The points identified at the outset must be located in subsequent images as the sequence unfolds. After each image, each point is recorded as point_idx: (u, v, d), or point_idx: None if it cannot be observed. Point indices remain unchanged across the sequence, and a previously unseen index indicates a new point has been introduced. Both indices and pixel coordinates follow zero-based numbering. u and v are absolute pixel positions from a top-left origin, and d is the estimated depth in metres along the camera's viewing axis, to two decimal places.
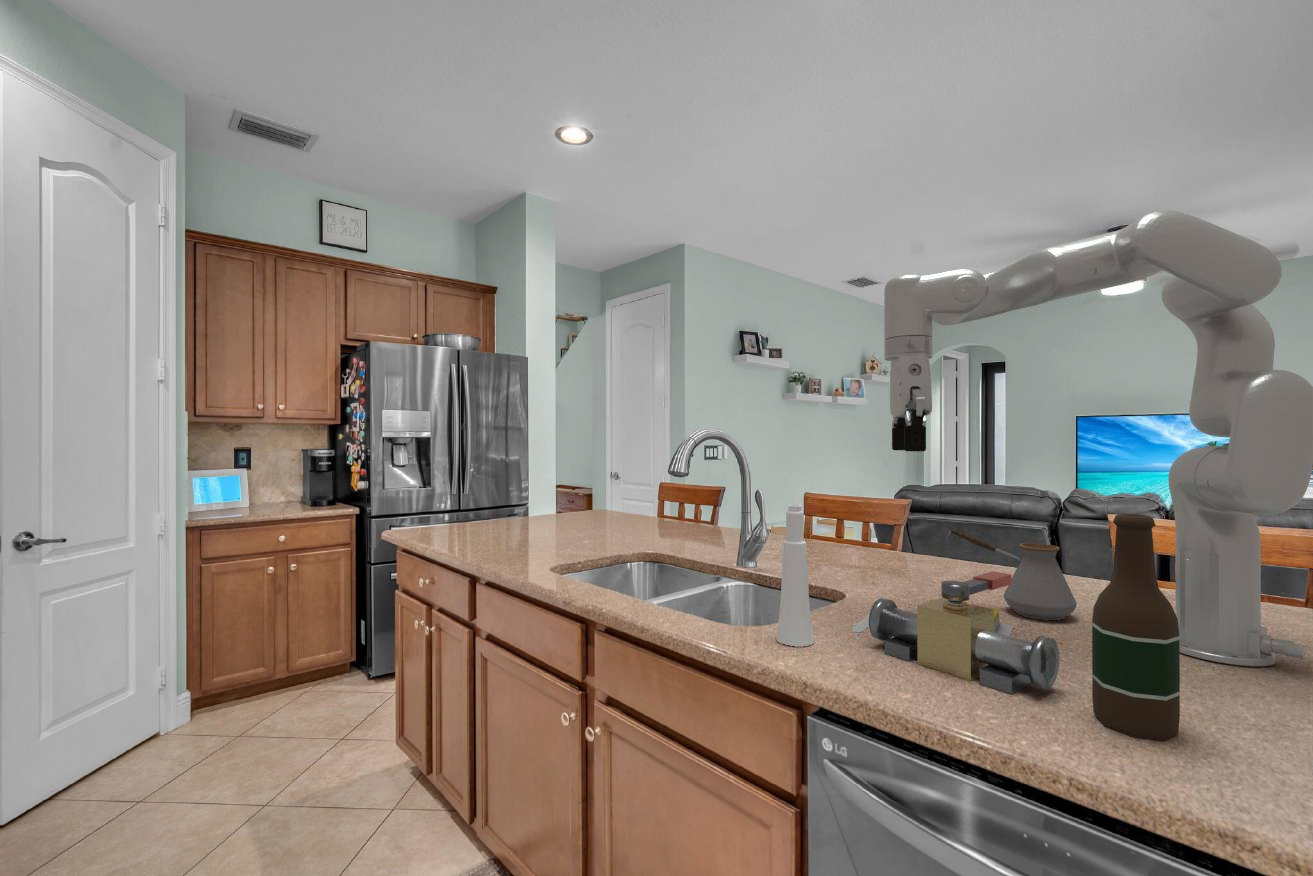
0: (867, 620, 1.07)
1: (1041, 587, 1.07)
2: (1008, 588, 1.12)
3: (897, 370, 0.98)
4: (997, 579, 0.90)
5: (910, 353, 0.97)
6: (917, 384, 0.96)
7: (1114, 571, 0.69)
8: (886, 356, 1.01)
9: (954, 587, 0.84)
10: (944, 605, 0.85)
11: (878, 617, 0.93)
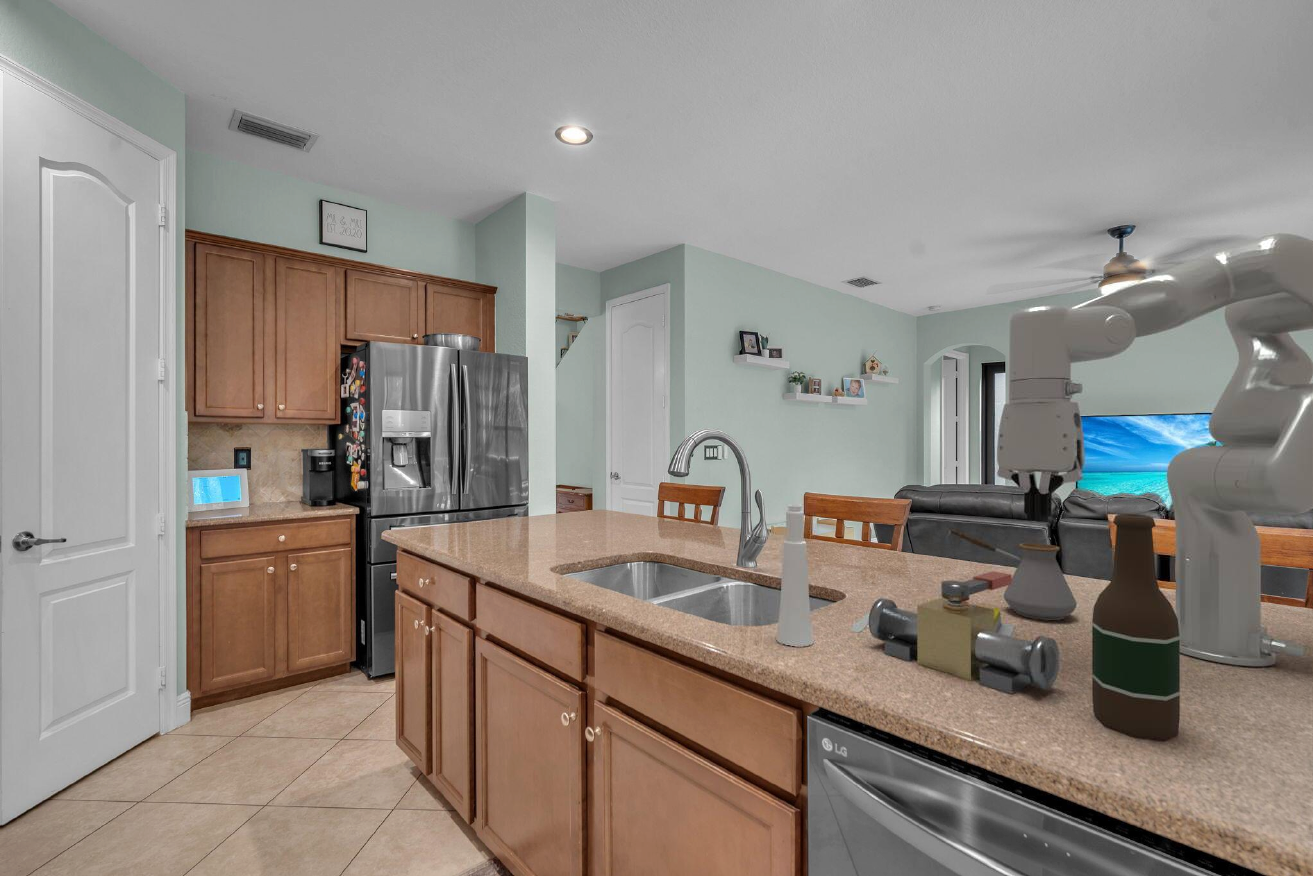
0: (865, 620, 1.07)
1: (1041, 587, 1.07)
2: (1008, 588, 1.12)
3: (1056, 418, 0.82)
4: (997, 579, 0.90)
5: (1067, 400, 0.83)
6: (1079, 437, 0.82)
7: (1114, 571, 0.69)
8: (1034, 399, 0.83)
9: (954, 587, 0.84)
10: (944, 605, 0.85)
11: (878, 617, 0.93)
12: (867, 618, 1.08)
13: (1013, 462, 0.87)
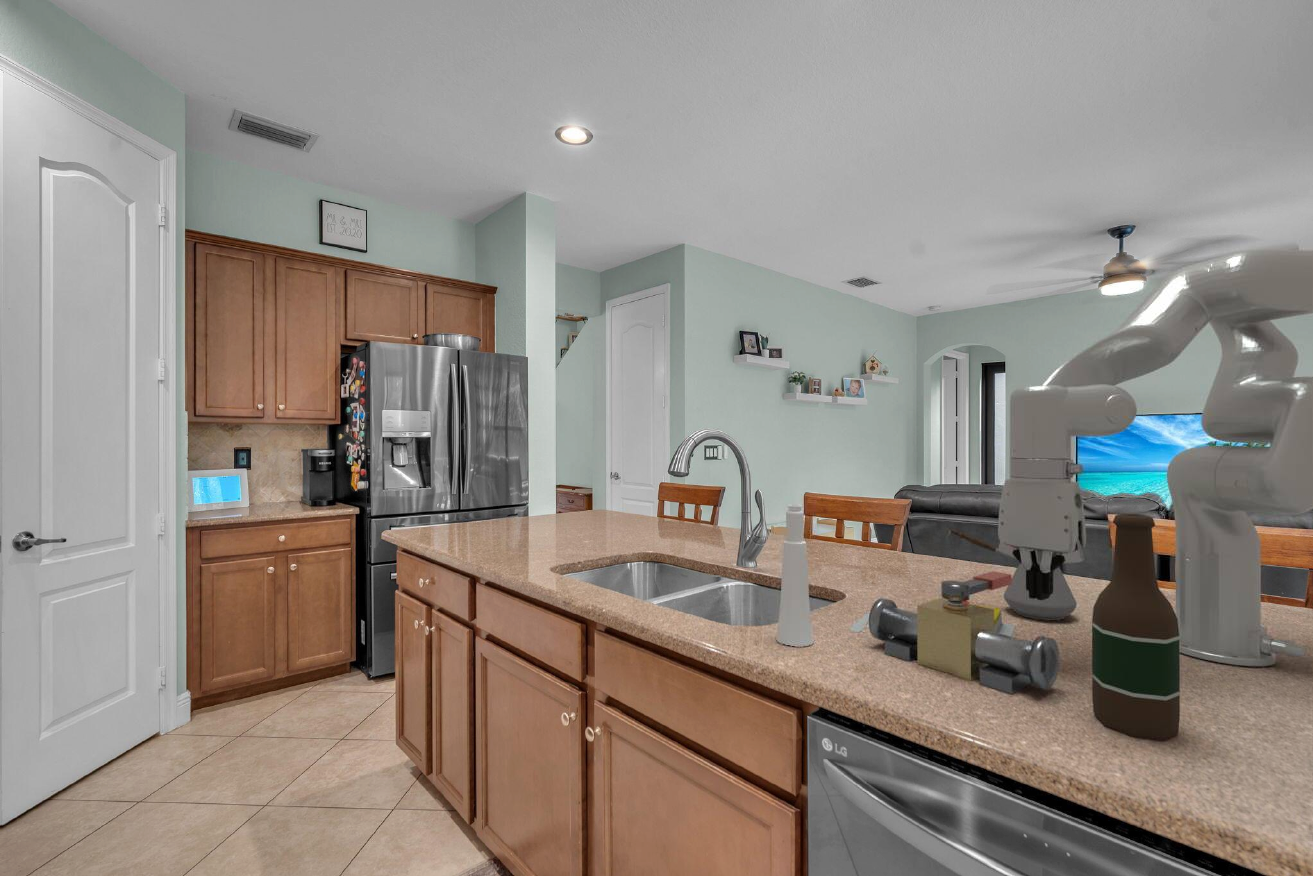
0: (865, 620, 1.07)
1: None
2: (1008, 588, 1.12)
3: (1057, 499, 0.82)
4: (997, 579, 0.90)
5: (1068, 480, 0.83)
6: (1081, 518, 0.82)
7: (1114, 571, 0.69)
8: (1035, 480, 0.83)
9: (954, 587, 0.84)
10: (944, 605, 0.85)
11: (878, 617, 0.93)
12: (866, 618, 1.08)
13: (1014, 539, 0.87)
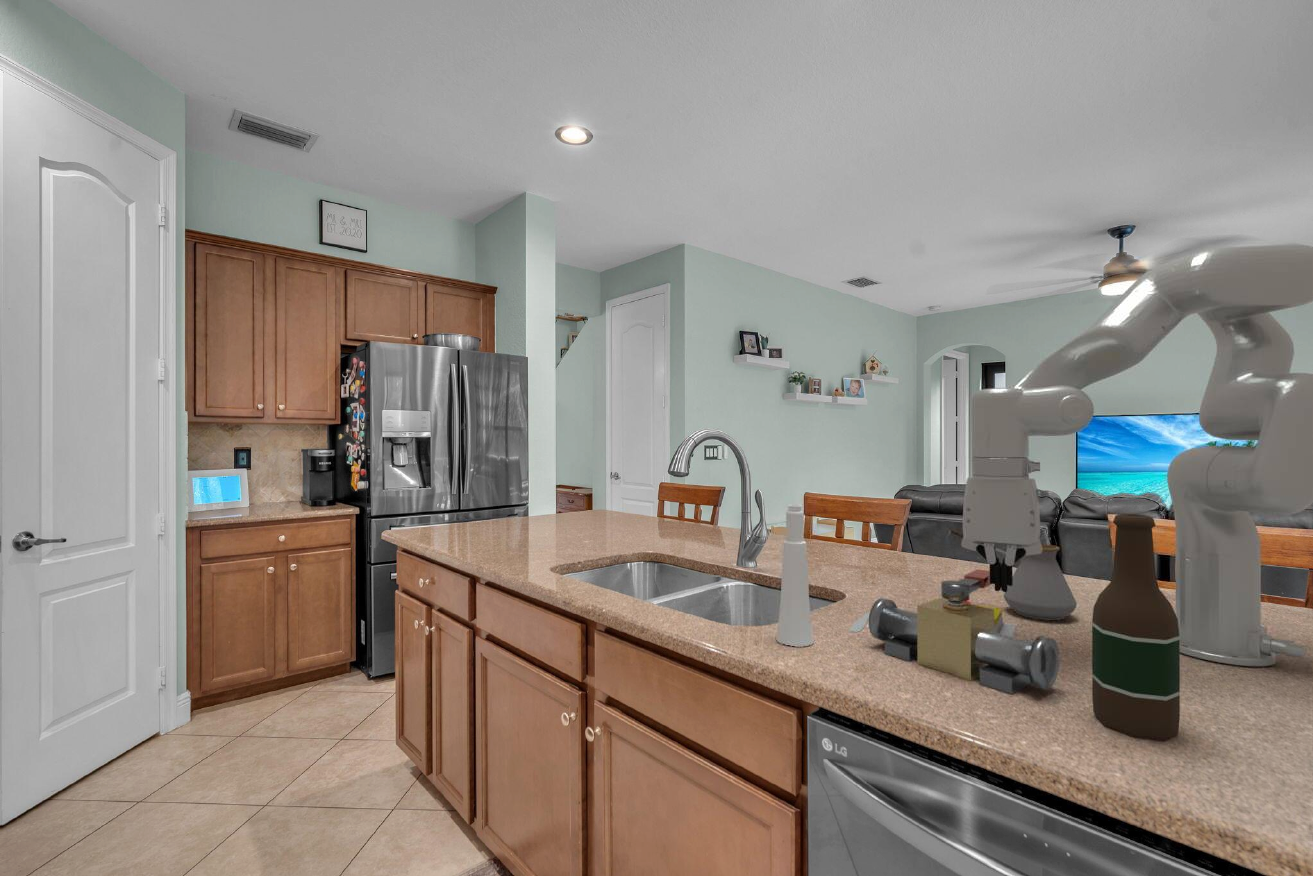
0: (864, 620, 1.07)
1: (1041, 587, 1.07)
2: (1008, 588, 1.12)
3: (1022, 495, 0.87)
4: (987, 577, 0.92)
5: (1028, 477, 0.88)
6: (1039, 512, 0.88)
7: (1114, 571, 0.69)
8: (1004, 478, 0.87)
9: (956, 587, 0.84)
10: (944, 605, 0.85)
11: (878, 617, 0.93)
12: (865, 618, 1.08)
13: (981, 535, 0.90)
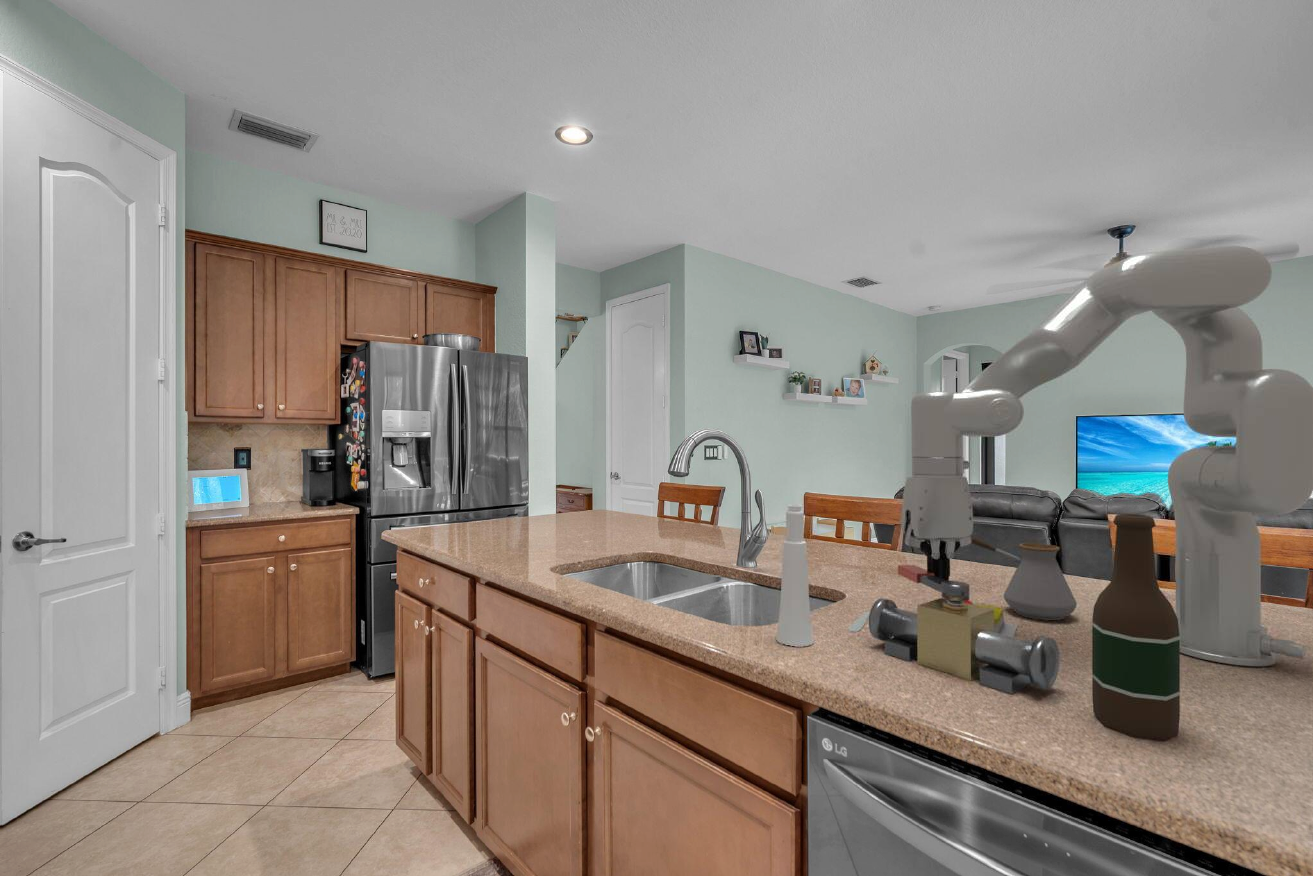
0: (863, 619, 1.07)
1: (1041, 587, 1.07)
2: (1008, 588, 1.12)
3: (963, 492, 0.94)
4: None
5: None
6: None
7: (1114, 571, 0.69)
8: (955, 476, 0.92)
9: (966, 587, 0.84)
10: (944, 605, 0.85)
11: (878, 617, 0.93)
12: (864, 617, 1.08)
13: (930, 532, 0.94)
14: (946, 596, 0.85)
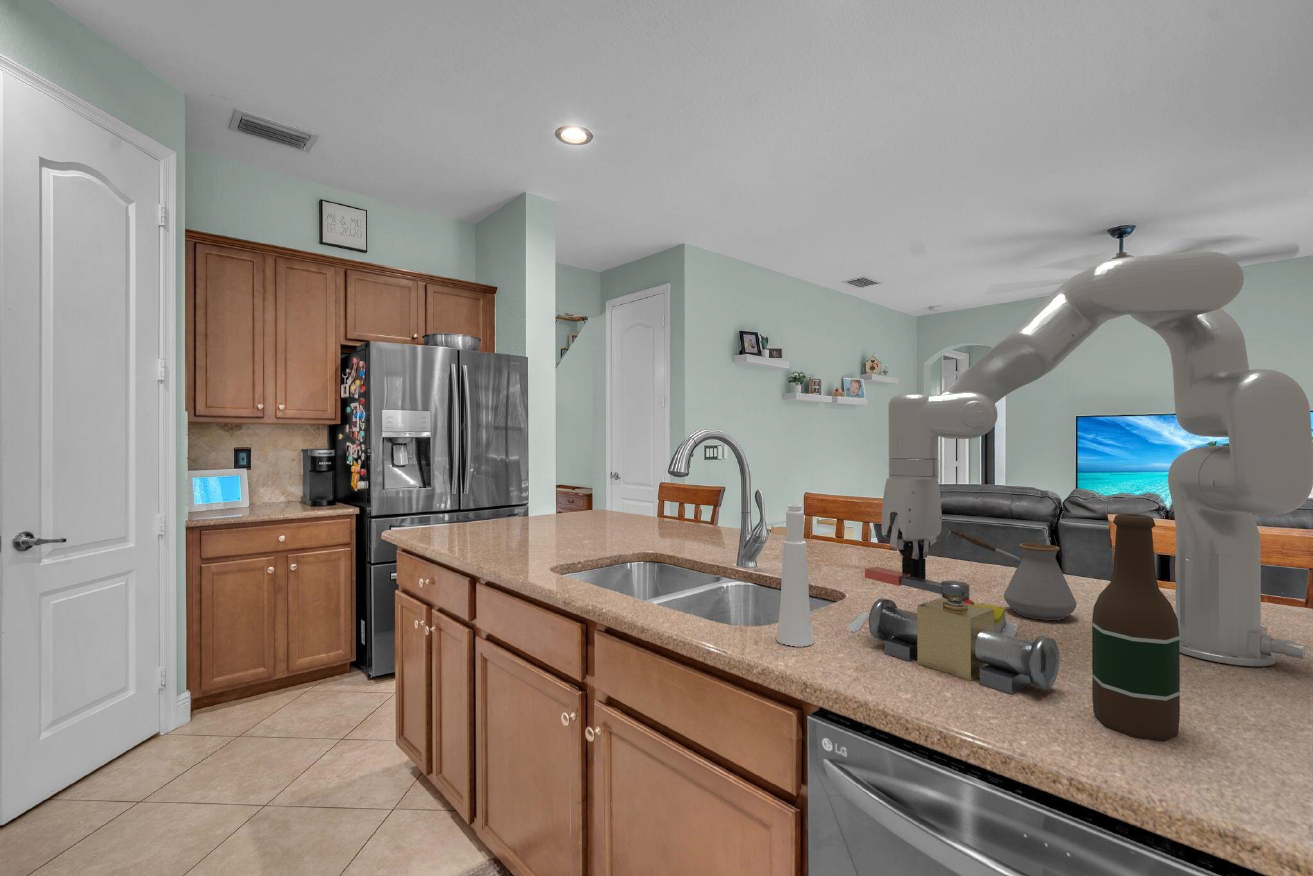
0: (861, 619, 1.07)
1: (1041, 587, 1.07)
2: (1008, 588, 1.12)
3: (937, 492, 0.97)
4: (900, 572, 0.95)
5: None
6: None
7: (1114, 571, 0.69)
8: (936, 477, 0.95)
9: None
10: (944, 605, 0.85)
11: (878, 617, 0.93)
12: (863, 617, 1.08)
13: (916, 533, 0.94)
14: (952, 597, 0.84)
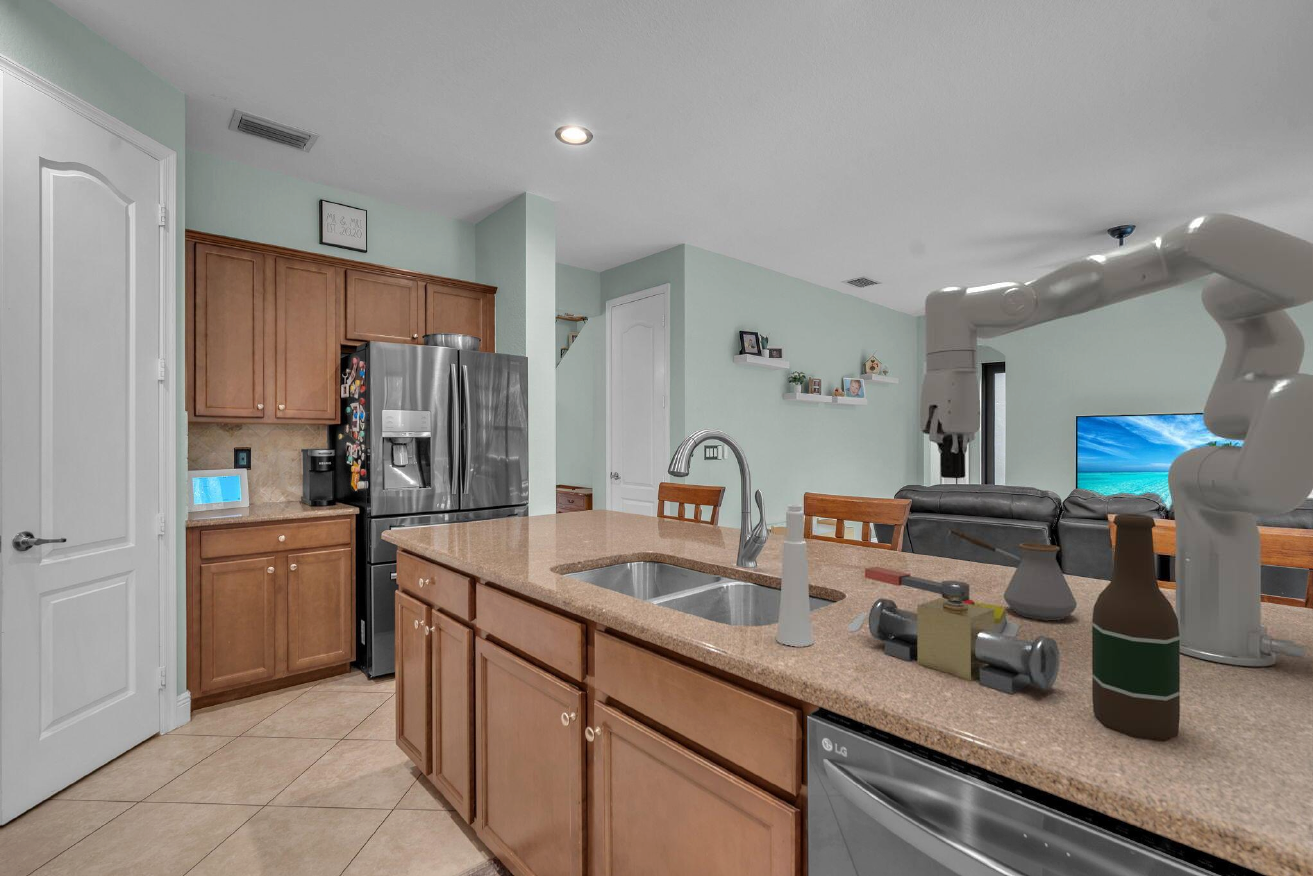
0: (860, 619, 1.07)
1: (1041, 587, 1.07)
2: (1008, 588, 1.12)
3: (975, 387, 0.97)
4: (900, 572, 0.95)
5: None
6: None
7: (1114, 571, 0.69)
8: (975, 369, 0.94)
9: None
10: (944, 605, 0.85)
11: (878, 617, 0.93)
12: (862, 617, 1.08)
13: (955, 426, 0.94)
14: (952, 597, 0.84)
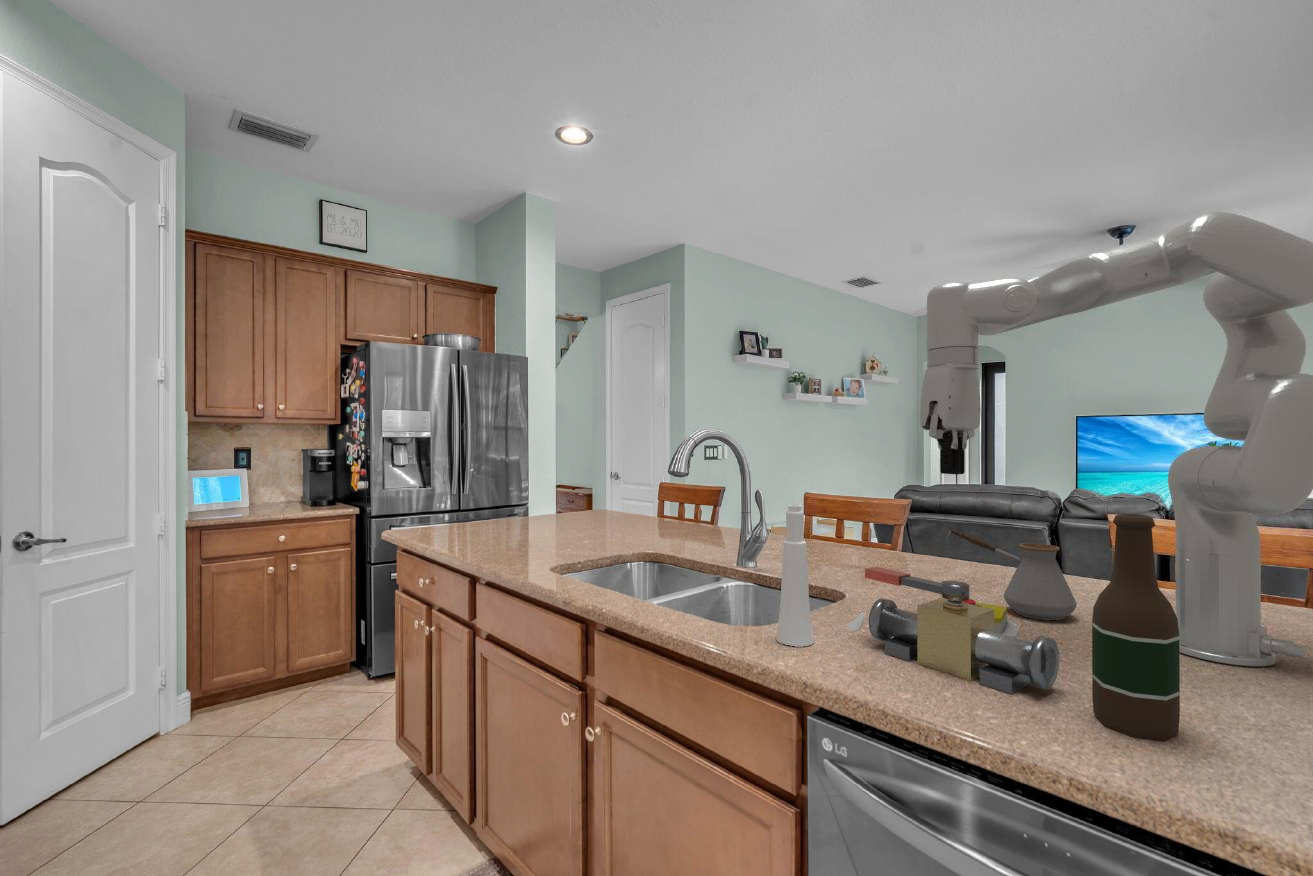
0: (860, 619, 1.07)
1: (1041, 587, 1.07)
2: (1008, 588, 1.12)
3: (976, 383, 0.97)
4: (900, 572, 0.95)
5: None
6: None
7: (1114, 571, 0.69)
8: (976, 366, 0.94)
9: None
10: (944, 605, 0.85)
11: (878, 617, 0.93)
12: (861, 617, 1.09)
13: (955, 422, 0.94)
14: (952, 597, 0.84)
